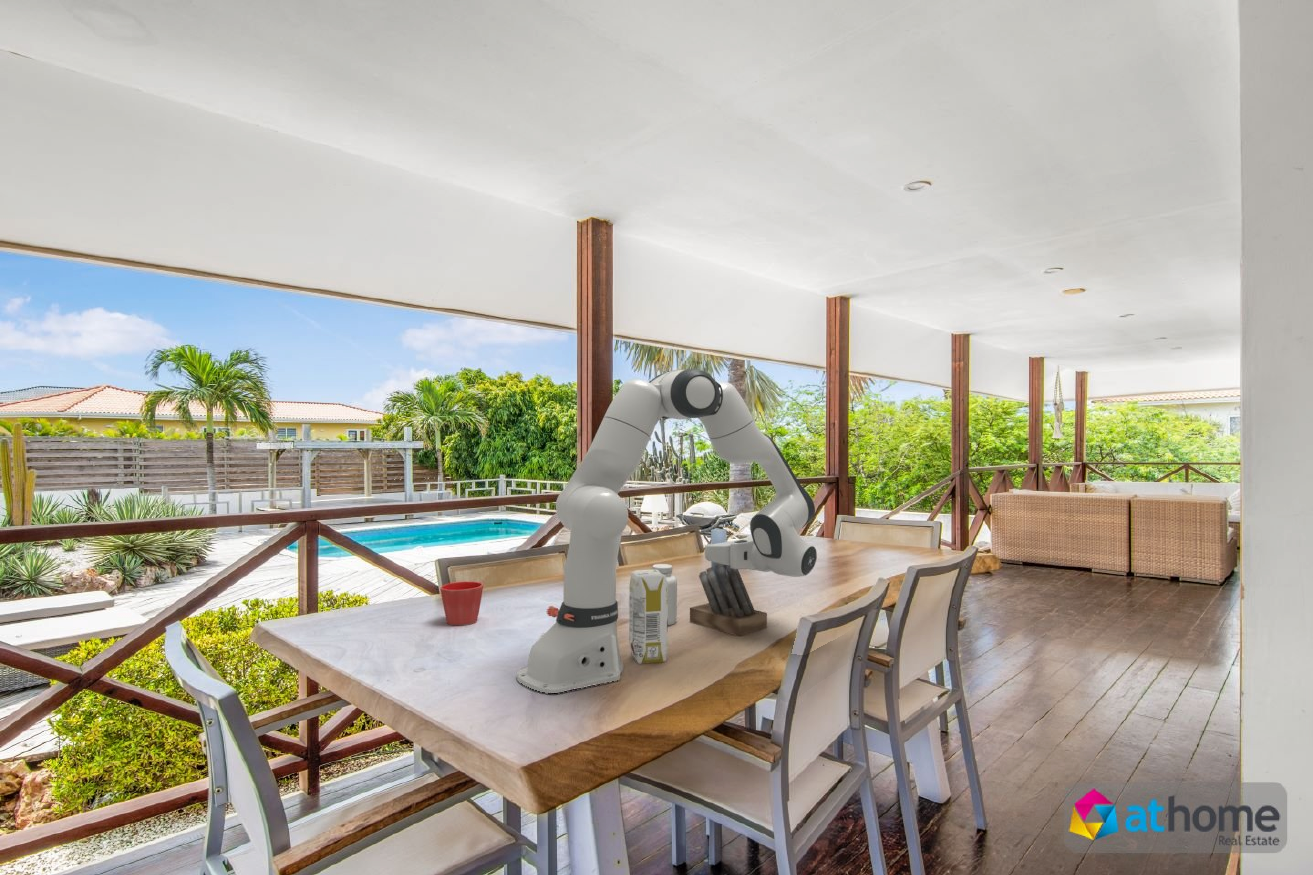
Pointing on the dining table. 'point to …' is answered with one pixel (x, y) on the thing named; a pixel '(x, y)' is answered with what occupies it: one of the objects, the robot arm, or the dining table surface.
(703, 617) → the slanted rod rack
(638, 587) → the juice carton
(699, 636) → the dining table surface
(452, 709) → the dining table surface
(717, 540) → the peg
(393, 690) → the dining table surface
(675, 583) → the pill bottle
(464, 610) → the flower pot
